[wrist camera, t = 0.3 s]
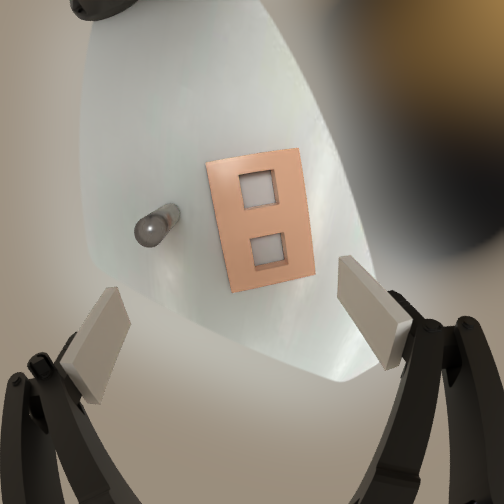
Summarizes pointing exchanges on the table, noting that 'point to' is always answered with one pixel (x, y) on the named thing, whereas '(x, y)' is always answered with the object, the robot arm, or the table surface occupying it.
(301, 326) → the table surface
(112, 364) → the robot arm
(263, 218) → the terracotta block
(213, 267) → the table surface
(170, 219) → the steel dowel
